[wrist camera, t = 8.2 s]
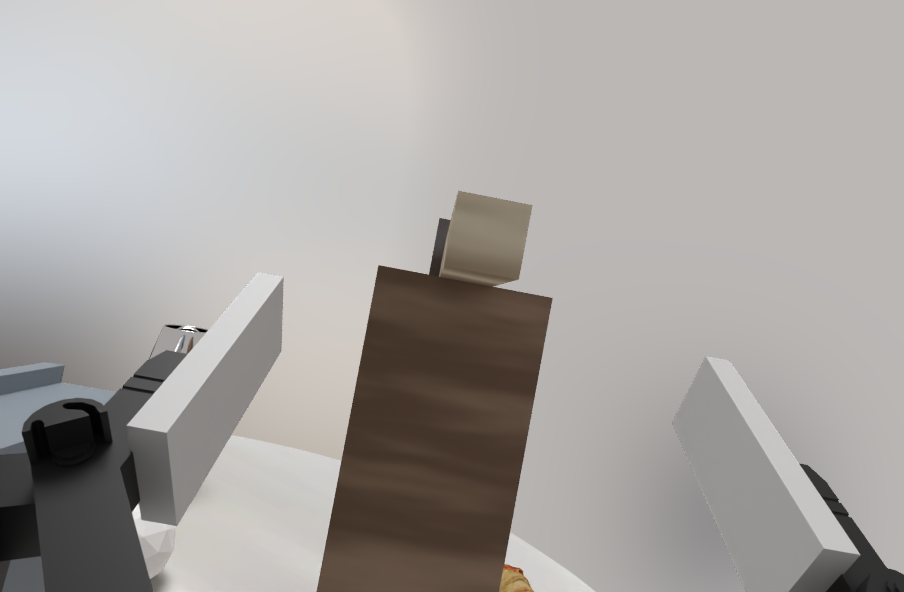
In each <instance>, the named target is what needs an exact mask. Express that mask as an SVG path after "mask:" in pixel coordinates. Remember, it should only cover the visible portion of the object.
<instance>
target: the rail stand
mask: <svg viewBox="0 0 904 592" xmlns="http://www.w3.org/2000/svg"><path fill="white" fill-rule="evenodd" d="M63 371H64V365H60V364H54V363H49V362H45V363H39V364H32V365H26V366H19V367H13V368H6V369H0V455H5V454H18V453H27V450H26V447H25V444H24V440H23V437H22V433H21V432H22V428H23V424H24V422H25V421H26V420H27V419H28V418H29V417H30V416H31V415H32V413H34V412H36V411H37V410H39V409H41V408H42V407H44V406H46V405H48V404H51V403H54V402H57V401H60V400H64V399H72V398H86V399H93V400H95V401H97V402H100V403H102V404H103V405H105V404H106V403H107V402H108V401H109V400H110V399H111V398H112V397H113V395H114V394H115V393H116V392H114V391H108V390H102V389H96V388H91V387H85V386H80V385H74V384H68V383H63V382H61V381H62V376H63ZM2 592H45V586H44V577H43V569H42V560H41V556H40V557H32V558H24V559H16V560H11V561H10V565H9V568H8V572H7V575H6V579H5V582H4V586H3V589H2Z"/></svg>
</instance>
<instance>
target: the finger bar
mask: <svg viewBox="0 0 904 592" xmlns="http://www.w3.org/2000/svg"><path fill="white" fill-rule="evenodd" d="M531 210H532V205H528V204H522V203H517V202H513V201H508V200H503V199H497V198H492V197H487V196H482V195H477V194H472V193H467V192H462V191H458V195H457V198H456V202H455V206H454V210H453V214H452V218H451V220H447V219H442V218H440V219H439V225H438V230H437V236H436V240H435V246H434V251H433V256H432V262H431V267H430V273H429V275H433V276H438V277H443V278H448V279H454V280H459V281H464V282H470V283H475V284H480V285H486V286H491V287H493V286H496V285H500V284H504V283H507V282H511V281H514V280H518V279H519V274H520V270H521V264H522V259H523V253H524V248H525V242H526V237H527V231H528V225H529V220H530V215H531Z"/></svg>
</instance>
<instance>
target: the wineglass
mask: <svg viewBox="0 0 904 592" xmlns="http://www.w3.org/2000/svg"><path fill="white" fill-rule="evenodd" d="M207 331H208V330H207V329H203V328H197V327H191V326H184V325H170V324H169V325H164V326H163V328H162V330H161V333H160V335H159V337H158V339H157V341H156V343H155V346H154V348H153V350H152V353H151V355H150V358H149V359H151V358H153V357H155V356H156V355H158V354H160V353H162V352H164V351H166V350H169V351H175V352H180V353H186V354H188V353H189V352H190V351H191V350H192V349H193V347H194V346H195V345H196V344H197V343H198V342H199V340H200V339H201V338H202V337H203V336H204V335H205V333H206V332H207Z"/></svg>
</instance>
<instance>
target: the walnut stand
mask: <svg viewBox="0 0 904 592" xmlns="http://www.w3.org/2000/svg"><path fill="white" fill-rule="evenodd" d="M551 303H552V298H549V297H544V296H539V295H533V294H528V293H523V292H517V291H512V290H507V289H502V288H496V287H491V286H486V285H480V284H475V283H470V282H464V281H459V280H454V279H448V278H443V277H438V276H433V275H427V274H422V273H417V272H411V271H406V270H400V269H395V268H390V267H385V266H378V271H377V277H376V282H375V287H374V293H373V298H372V303H371V308H370V314H369V319H368V324H367V330H366V335H365V340H364V345H363V350H362V356H361V361H360V366H359V372H358V377H357V382H356V387H355V393H354V398H353V403H352V409H351V414H350V419H349V425H348V430H347V435H346V440H345V445H344V451H343V456H342V461H341V467H340V472H339V477H338V482H337V488H336V493H335V498H334V503H333V509H332V514H331V519H330V525H329V530H328V535H327V540H326V546H325V551H324V556H323V561H322V567H321V572H320V577H319V583H318V588H317V592H499V590H500V584H501V579H502V573H503V568H504V562H505V557H506V551H507V546H508V540H509V535H510V528H511V524H512V518H513V513H514V507H515V501H516V496H517V490H518V485H519V479H520V474H521V469H522V463H523V458H524V452H525V447H526V441H527V436H528V430H529V424H530V419H531V414H532V408H533V402H534V397H535V391H536V386H537V381H538V375H539V370H540V364H541V359H542V353H543V347H544V342H545V336H546V331H547V326H548V320H549V314H550V309H551Z"/></svg>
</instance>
